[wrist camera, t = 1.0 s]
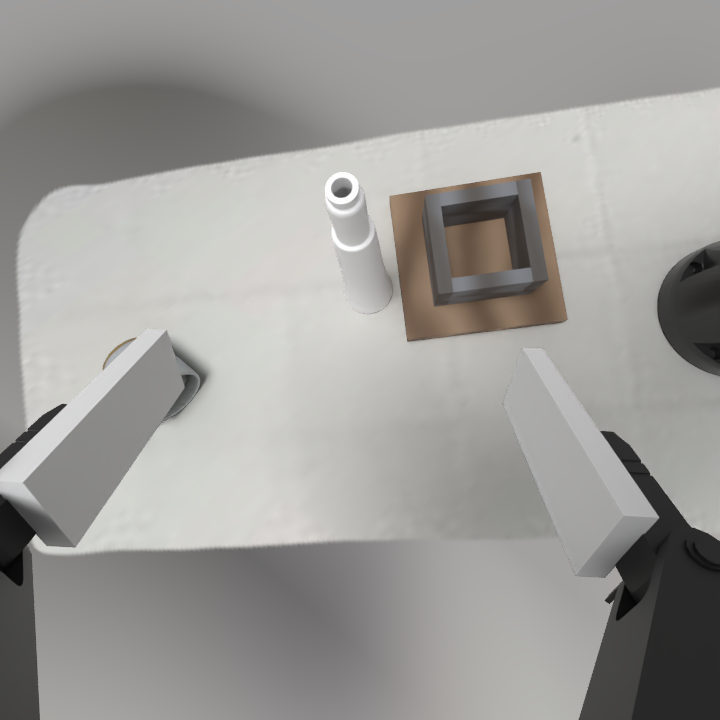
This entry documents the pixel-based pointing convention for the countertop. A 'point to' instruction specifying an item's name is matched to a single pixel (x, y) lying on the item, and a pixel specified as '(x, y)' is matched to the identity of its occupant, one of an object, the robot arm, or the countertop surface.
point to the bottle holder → (476, 258)
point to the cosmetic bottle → (356, 245)
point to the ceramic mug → (187, 374)
